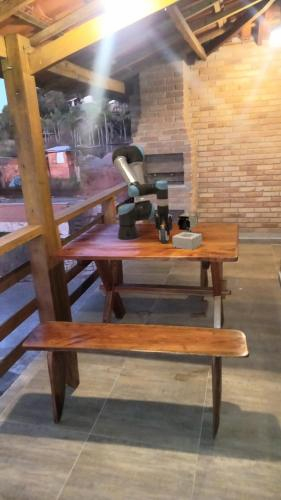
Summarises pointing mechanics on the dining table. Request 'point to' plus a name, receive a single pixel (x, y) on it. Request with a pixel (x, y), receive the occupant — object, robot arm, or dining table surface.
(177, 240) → the block
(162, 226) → the steel pin
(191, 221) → the ball valve
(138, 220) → the robot arm
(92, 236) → the dining table surface
